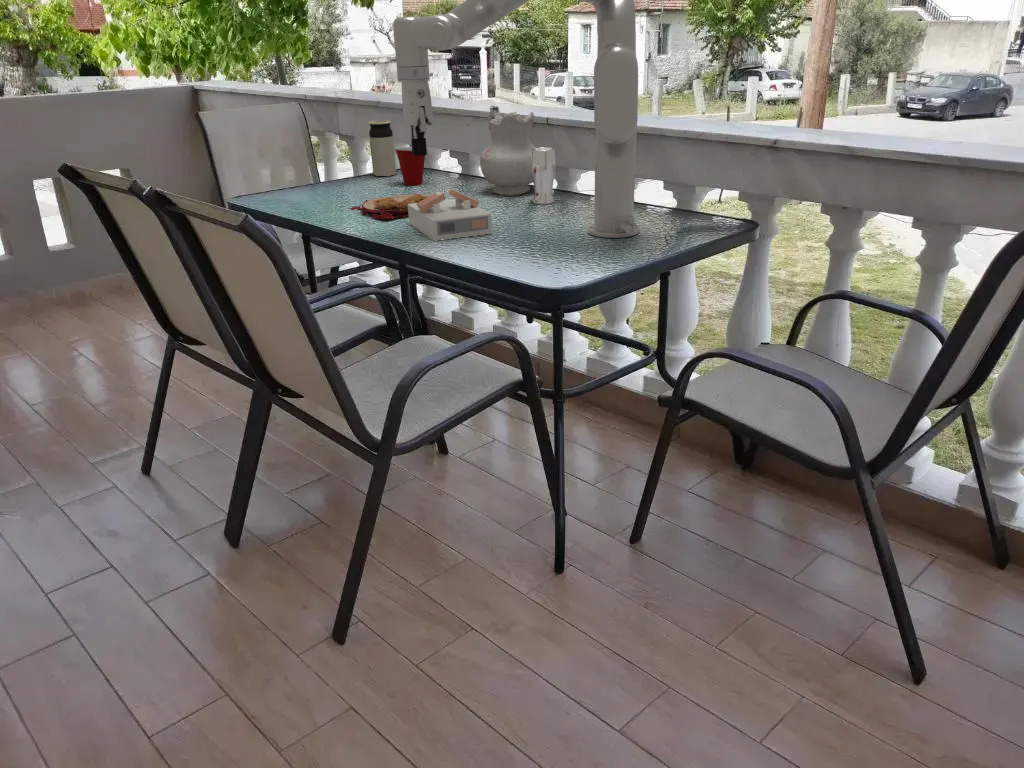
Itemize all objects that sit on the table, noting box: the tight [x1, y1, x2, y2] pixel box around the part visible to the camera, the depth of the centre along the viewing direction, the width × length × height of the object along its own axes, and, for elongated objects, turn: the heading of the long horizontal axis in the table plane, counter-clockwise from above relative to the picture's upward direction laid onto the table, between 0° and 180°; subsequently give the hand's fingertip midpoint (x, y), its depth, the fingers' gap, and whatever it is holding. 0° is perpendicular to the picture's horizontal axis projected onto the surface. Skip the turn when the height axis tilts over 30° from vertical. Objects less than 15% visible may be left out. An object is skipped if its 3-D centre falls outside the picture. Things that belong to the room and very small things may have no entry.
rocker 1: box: [417, 190, 447, 212], centre depth 198 cm, size 5×7×2 cm
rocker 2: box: [448, 189, 479, 207], centre depth 201 cm, size 5×7×2 cm
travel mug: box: [368, 120, 397, 177], centre depth 274 cm, size 8×8×18 cm
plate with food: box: [348, 193, 432, 220], centre depth 227 cm, size 25×26×4 cm
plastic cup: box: [394, 146, 428, 187], centre depth 258 cm, size 11×11×12 cm
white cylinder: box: [531, 146, 556, 205], centre depth 226 cm, size 7×7×15 cm
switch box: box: [408, 197, 493, 241], centre depth 201 cm, size 22×15×7 cm
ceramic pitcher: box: [479, 105, 537, 197], centre depth 241 cm, size 22×20×25 cm
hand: (419, 155), depth 193 cm, fingers closed
